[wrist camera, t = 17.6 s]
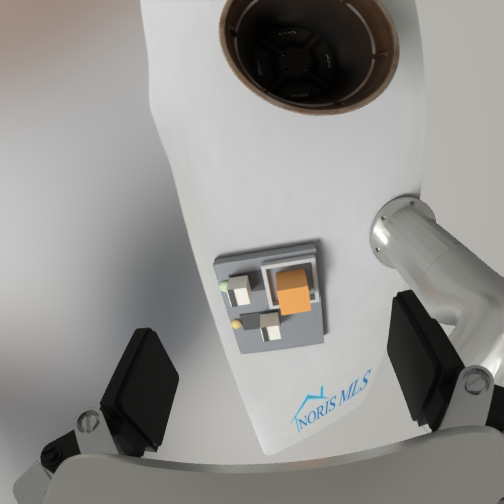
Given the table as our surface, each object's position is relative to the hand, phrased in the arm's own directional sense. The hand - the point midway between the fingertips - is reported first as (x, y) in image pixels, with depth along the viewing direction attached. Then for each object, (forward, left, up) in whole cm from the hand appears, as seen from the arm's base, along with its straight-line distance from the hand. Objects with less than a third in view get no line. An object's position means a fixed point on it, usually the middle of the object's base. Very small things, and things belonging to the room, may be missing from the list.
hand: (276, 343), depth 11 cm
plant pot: (+5, -16, -34) cm, 37 cm away
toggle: (-5, +17, -31) cm, 36 cm away
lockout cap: (-12, +13, -31) cm, 36 cm away
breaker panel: (-13, +19, -33) cm, 40 cm away
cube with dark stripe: (-13, +21, -31) cm, 40 cm away
